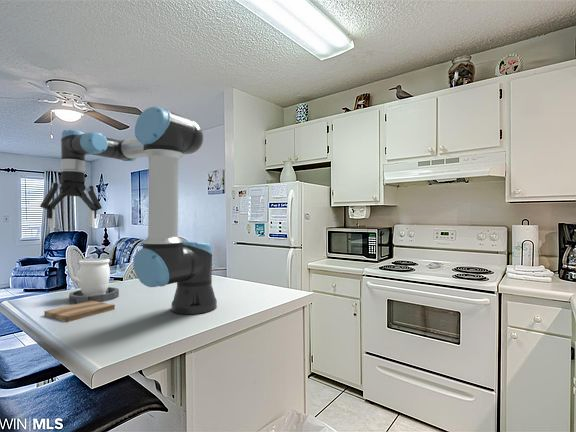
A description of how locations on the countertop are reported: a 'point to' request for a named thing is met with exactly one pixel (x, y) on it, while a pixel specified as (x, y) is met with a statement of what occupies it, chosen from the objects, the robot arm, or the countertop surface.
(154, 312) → the countertop surface
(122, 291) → the countertop surface
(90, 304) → the board
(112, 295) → the collar
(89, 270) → the jar
